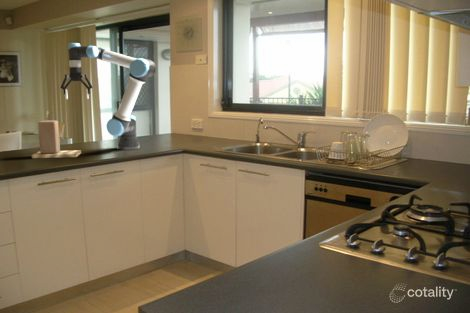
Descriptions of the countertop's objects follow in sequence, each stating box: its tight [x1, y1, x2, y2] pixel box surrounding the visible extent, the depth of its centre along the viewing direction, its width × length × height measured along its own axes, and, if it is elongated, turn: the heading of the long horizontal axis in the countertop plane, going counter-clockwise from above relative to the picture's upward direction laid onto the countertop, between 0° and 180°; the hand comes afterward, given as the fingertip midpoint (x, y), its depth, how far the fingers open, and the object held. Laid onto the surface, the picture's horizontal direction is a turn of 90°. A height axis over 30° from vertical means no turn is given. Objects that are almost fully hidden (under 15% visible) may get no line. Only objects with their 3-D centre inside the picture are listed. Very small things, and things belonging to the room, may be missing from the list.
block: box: [37, 119, 61, 154], centre depth 284 cm, size 10×10×20 cm
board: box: [31, 149, 82, 159], centre depth 287 cm, size 26×16×2 cm, turn 99°
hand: (77, 99), depth 305 cm, fingers open, 13 cm apart
